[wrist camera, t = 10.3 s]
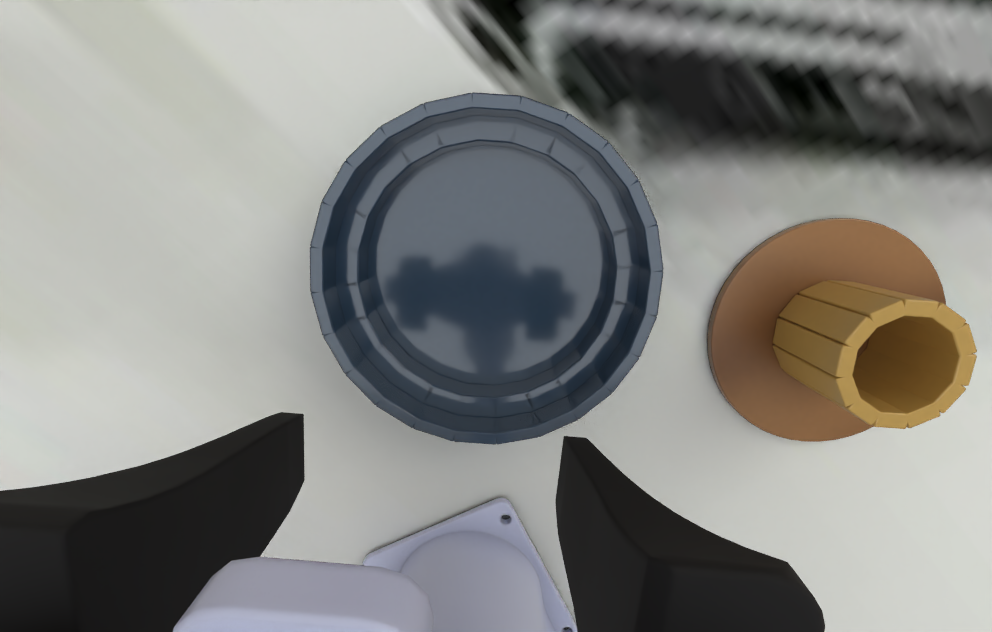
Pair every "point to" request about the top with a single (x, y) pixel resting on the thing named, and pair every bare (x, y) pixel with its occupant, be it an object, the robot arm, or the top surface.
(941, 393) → the brass ring
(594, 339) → the bowl
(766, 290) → the coaster
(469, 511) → the robot arm
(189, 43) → the top surface
